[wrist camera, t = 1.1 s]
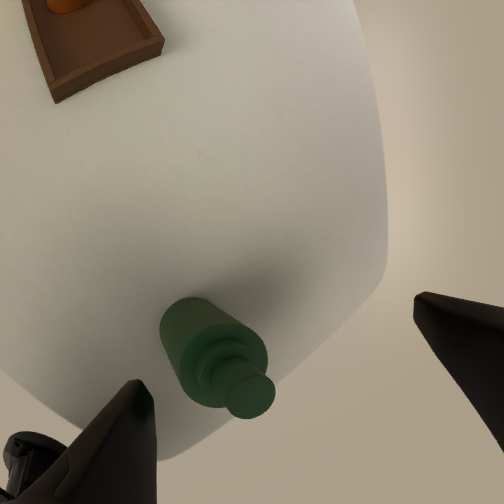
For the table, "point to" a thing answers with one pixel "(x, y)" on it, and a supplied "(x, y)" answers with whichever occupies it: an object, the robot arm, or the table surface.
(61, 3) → the amber bottle middle
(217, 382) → the green bottle
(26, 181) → the table surface
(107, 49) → the tray
